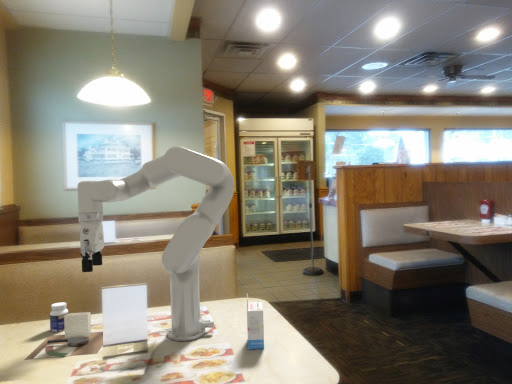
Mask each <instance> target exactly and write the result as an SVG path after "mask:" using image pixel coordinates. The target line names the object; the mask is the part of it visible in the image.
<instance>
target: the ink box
mask: <svg viewBox="0 0 512 384" xmlns="http://www.w3.org/2000/svg"><path fill="white" fill-rule="evenodd" d="M248 296H249V295H248V293H246V325H247V326H246V327H247V343H248V344H247V346H248V350H261V349H262V350H264V349H265V333H264V330H265V329H264V327H265V326H264V307H263V302H262V301H256V302H255V301H254V302H253V301H252V302H249V301H248V300H249V299H248Z"/></svg>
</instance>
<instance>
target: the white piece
mask: <svg viewBox="0 0 512 384" xmlns="http://www.w3.org/2000/svg"><path fill="white" fill-rule="evenodd" d="M91 319H92V317H91V311H89V312H88V311H86V312H70V313H69V312H68V314H66V315H65V316H64V326H65V331H64V335H65V339H57V340H48V341H47V343H59V342H68V346H70V347H77V346H81V345H84V344H86V343H88V342H89V336H90V335H91V332H92V321H91Z"/></svg>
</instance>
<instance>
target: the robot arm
mask: <svg viewBox="0 0 512 384" xmlns="http://www.w3.org/2000/svg"><path fill="white" fill-rule="evenodd" d="M179 177H184V178H187V179H189V180H192V181H194V182H197V183H201V184H203V185H206V186H209V187H208V189H207V192H206V193H205V194H204V195H203V197H202V200H201V201H200V203H199V205H198V206H197V208H196V209H195V210H194V212H193V213H192V214H189V215H187V217H185V218H184V219H183V220H182V221H181V223H180V225H179V226H178V227H177V229H176V230H175V233H174V234H173V235H172V237H171V238H170V241H168V243H167V245H166V247H165V248H164V250H163V252H162V256H161V264H162V267H163V269H164V270H165V271H166V272H167V273H168V274H170V275H169V276H170V277H169V284H170V285H169V286H170V287H169V288H170V290H169V291H170V294H169V295H170V318H171V327H170V328H168V330H167V332H166V336H167V338H168V339H170V340H172V341H176V342H185V341H187V342H188V341H191V340H192V341H193V340H196V339H198V338H201V337H202V336H203V335H205V333H206V328H207V329H208V328H209V329H210V328H215V321H212V320H211V319H205V320H204V319H202V315H201V304H200V303H201V301H200V298H201V297H200V252H201V250H202V249H203V247H204V246H205V244H206V243H207V241H208V239H210V238H211V236H213V234H214V231H215V230H216V229H215V228H216V227H217V226H218V224H219V222H220V220H221V219H222V218H223V215H224V214H225V212H226V210H227V209H228V207H229V205H230V203H231V201H232V199H233V197H234V193H235V179H234V175H233V174H232V172H231V170H230V168H229V167H228V166H227V164H226V163H224V162H223V161H221V160H219V159H216V158H213V157H211V156H207V155H204V154H202V153H200V152H196V151H194V150H191V149H188V148H186V147H184V146H182V145H181V146H180V145H175V146H171V147H169V148H168V149H167V150H166V151H165V153H164V154H163V155H161V156H159V157H157V158H154V159H152V160H149V161H146V162H145V163H144V164H142V166H141V168H140V169H139V170H138V171H136V172H135V173H132V174H130V175H128V176H126V177H122V178H121V179H105V180H82V181H80V182H78V183H77V187H76V188H77V212H78V216H77V217H78V224H80V231H79V233H80V235H79V236H80V237H79V240H80V241H79V242H80V243H79V246H80V247H79V248H80V249H79V250H80V256H81V257H80V260H81V272H82V273H92V272H93V271H94V266H95V267H97V266H102V265H103V249H104V248H105V235H104V227H103V222H104V210H103V205H104V204H103V203H108V204H110V203H117V202H124V201H126V200H129V199H132V198H134V197H137V196H139V195H141V194H142V193H145V192H148V191H149V190H152V189H154V188H156V187H158V186H159V185H162V184H165V183H167V182H170V181H172V180H174V179H176V178H177V179H178V178H179Z"/></svg>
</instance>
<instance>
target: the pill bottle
mask: <svg viewBox="0 0 512 384" xmlns="http://www.w3.org/2000/svg"><path fill="white" fill-rule="evenodd" d="M50 309H51V311H50V313H49V328H50V329H49V330H50V331H49V332H51V333H60V332H65V326H64V316H65V315H66V314H68V313H69V310H68V308H67V302H65V301H64V302H62V301H61V302H56V303H52V304H51V308H50Z"/></svg>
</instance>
